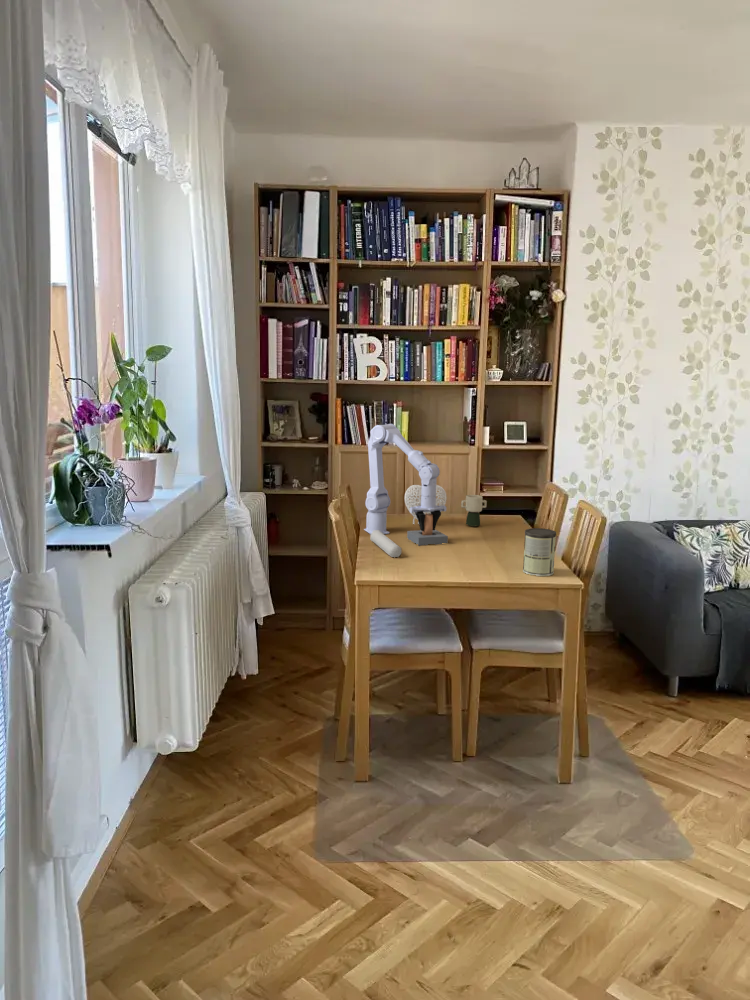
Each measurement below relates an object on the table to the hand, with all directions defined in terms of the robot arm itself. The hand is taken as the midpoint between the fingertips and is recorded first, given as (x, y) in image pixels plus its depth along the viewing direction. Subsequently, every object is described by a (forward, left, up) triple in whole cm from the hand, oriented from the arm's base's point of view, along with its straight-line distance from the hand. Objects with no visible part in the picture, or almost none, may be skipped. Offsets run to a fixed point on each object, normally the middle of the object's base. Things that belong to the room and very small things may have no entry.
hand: (427, 530), depth 298 cm
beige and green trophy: (-21, +30, -5) cm, 37 cm away
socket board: (0, 0, -4) cm, 4 cm away
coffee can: (+51, +19, -5) cm, 55 cm away
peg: (0, 0, -3) cm, 3 cm away
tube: (+10, -20, -5) cm, 23 cm away
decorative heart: (-29, +11, -5) cm, 31 cm away
